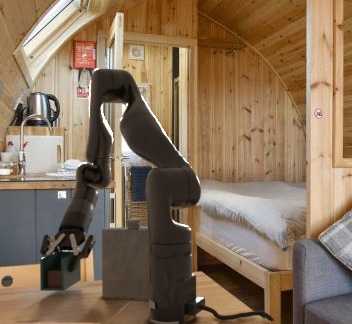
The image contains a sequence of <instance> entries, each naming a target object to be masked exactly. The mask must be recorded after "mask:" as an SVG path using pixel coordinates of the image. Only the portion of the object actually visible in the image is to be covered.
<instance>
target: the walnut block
mask: <svg viewBox="0 0 352 324" xmlns="http://www.w3.org/2000/svg"><path fill="white" fill-rule="evenodd" d="M47 287H61V268H53V269H51V270H49V271H47Z"/></svg>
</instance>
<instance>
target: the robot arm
mask: <svg viewBox="0 0 352 324" xmlns="http://www.w3.org/2000/svg"><path fill="white" fill-rule="evenodd" d="M104 104H122V105H124V106H125V107H126V108H125V109H124V111H123V113H122V115H121V118H120V119H119V120H120V121H119V131H120V133H121V136H122V138H123V139H124V141H125V143H126V145H127V147H128V148H129V150H130V151H132V152H133V154H135V155H136V156H138V157H139V158H140V159H142V160H143V161H145V162H147V163H149V164H151V165H152V166H154V168H152V169H151V170H149V172H148V174H147V177H146V180H145V203H146V224H147V227H148V231H149V241H150V242H149V255H150V256H149V265H150V300H149V301H148V308H149V315H148V317H149V318H148V319H149V323H150V324H190V323H191V322H192V321H193V320H195V318H197V315H198V314H199V313H201V312H202V311H204V312H208V313H210V314H212V316H213V317H214V318H215V319H217V320H219V321H231V320H237V319H240V318H248V317H256V316H260V317H263V318H265V319H266V320H267V321H270V322H273V321H275V319H274V318H273V316H272V315H270V314H269V313H267V312H265V311H262V310H251V311H246V312H245V311H244V312H238V313H235V314H228V315H227V314H225V315H222V314H220V313H219V312H218V311H217V310H216V309H214V308H212V307H210V306H207V305H206V297H202V296H197V275H196V273H193V229H192V227H190V226H189V225H186V224H182V223H179V222H177V221H176V220H174V219H173V216H172V210H184V209H189V208H193V207H195V206H196V205H197V204H198V203H199V201H200V200H201V197H202V186H201V181H200V179H199V177H198V175H197V173H196V172H195V170H194V169H193V167H192V166H191V165H190V163H189V162H187V160H186V159H185V158H184V157H183V156H182V155H181V154H180V152H179V151H178V150H177V149H176V147H175V146H174V144H173V143H172V141H171V139H170V138H169V137H168V136H167V134H166V132H165V131H164V129H163V128H162V126H161V124H160V122H159V121H158V119H157V118H156V116H155V115H154V114H153V112H152V111H151V109H150V108H149V106H148V104H147V102H146V101H145V99H144V97H143V96H142V93H141V91H140V89H139V87H138V84H137V82H136V80H135V79H134V76H133V75H132V73H131V72H129V71H128V70H125V69H117V68H95V69H94V70H93V71H92V73H91V77H90V82H89V96H88V105H89V106H88V136H87V142H86V146H85V148H86V149H85V153H84V155H85V160H86V161H87V162H86V161H85V162H81V163H80V164H79V165H77V167H76V170H75V186H74V192H73V194H72V196H71V199H70V202H69V204H68V205H67V207H66V208H65V211H64V214H63V217H62V219H61V221H60V224H59V227H58V231H57V232H56V233H55V235H49V234H45V235H44V236H43V239H42V242H41V246H40V249H39V250H40V251H39V253H40V254H41V256H42V258H43V257H46V256H48V255H50V254H53V253H55V252H57V253H58V255H59V254H60V253H61V252H62V251H73V252H74V256H72V259H71V261H70V264H69V267H68V269H69V271H70V272H74V270H76V269H77V266H78V263H79V260H82V259H88V258H89V257H90V254H91V252H92V251H93V248H94V246H95V244H96V242H97V241H96V239H95V236H94V235H93V234H90V235H88V232H89V229H90V226H91V223H92V221H93V218H94V213H95V209H96V207H97V204H98V201H99V197H100V194H99V191H98V190H105V189H107V188H108V187H109V186H110V185H111V183H112V177H113V176H112V175H113V174H112V168H111V153H112V150H113V149H112V147H113V141H114V137H113V136H114V135H113V132H112V130H111V128H110V126H109V124H108V122H107V120H106V119H105V116H104V113H103V105H104ZM97 189H98V190H97ZM83 244H84V245H83ZM81 245H83V247H82V249H81V248H80V246H81Z"/></svg>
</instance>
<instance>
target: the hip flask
mask: <svg viewBox="0 0 352 324" xmlns="http://www.w3.org/2000/svg"><path fill="white" fill-rule="evenodd" d="M141 222H142V219H141V218H135V217H133V218H126V219H125V223H126V227H103V228H101V281H102V282H101V285H102V286H101V288H102V289H101V290H102V291H101V293H102V295H101V296H102V298H128V299H130V300H131V301H132V300H135V301H147V302H149V300H150V265H149V256H150V255H149V242H150V241H149V231H148V226H142V225H141V224H140V223H141Z"/></svg>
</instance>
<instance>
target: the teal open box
mask: <svg viewBox="0 0 352 324" xmlns="http://www.w3.org/2000/svg"><path fill="white" fill-rule="evenodd" d="M72 256H74V252H73V251H70V250H66V251H62V252H61V253H60V254H59V255H58V253H57V252H55V253H53V254H50V255H48V256H46V257H43V256H42V257H41V258H40V259H39V275H40V278H39V279H40V280H39V281H40V289H39V290H40V291H42V292H43V291H46V292H47V291H48V292H50V291H53V292H59V291H60V292H61V291H62V292H64V291H66V290H67V289H69V288H71V287H72V286H74V285H75V284H77V283H79V282H80V281H81V280H82V275H81V274H82V272H81V270H82V269H81V267H82V266H81V265H82V264H81V263H82V262H81V260H82V259H81V260H79V263H78V266H77V269H76V270H74V272H70V271H69V269H68V267H69V264H70V261H71V259H72ZM53 268H61V287H47V271H49V270H51V269H53Z"/></svg>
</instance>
